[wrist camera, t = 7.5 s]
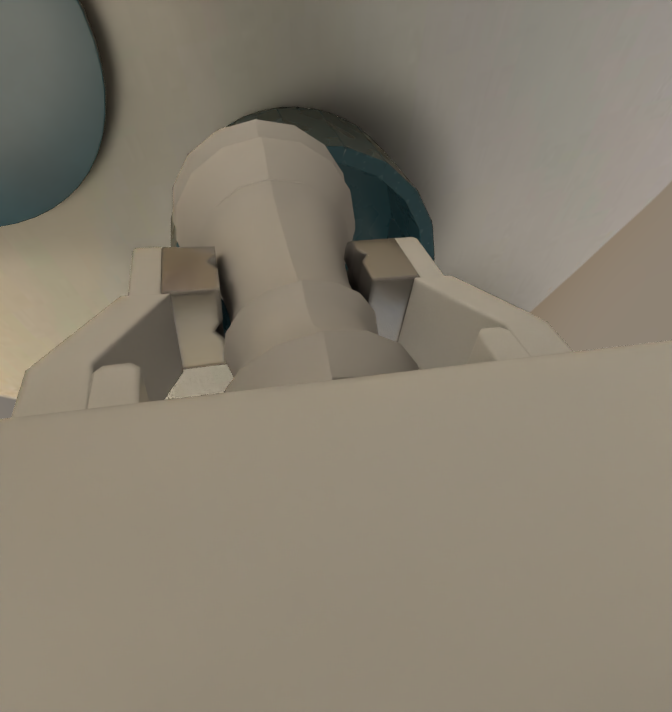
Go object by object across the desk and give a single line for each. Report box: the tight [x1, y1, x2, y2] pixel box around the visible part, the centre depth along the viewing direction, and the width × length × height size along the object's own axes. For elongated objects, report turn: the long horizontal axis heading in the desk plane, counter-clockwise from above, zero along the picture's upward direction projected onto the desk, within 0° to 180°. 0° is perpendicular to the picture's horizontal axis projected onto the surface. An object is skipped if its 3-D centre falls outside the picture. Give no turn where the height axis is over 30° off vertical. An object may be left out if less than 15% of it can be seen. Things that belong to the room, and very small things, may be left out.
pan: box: [171, 107, 434, 338], centre depth 28 cm, size 15×15×6 cm
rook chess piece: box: [173, 119, 418, 393], centre depth 9 cm, size 4×4×8 cm
